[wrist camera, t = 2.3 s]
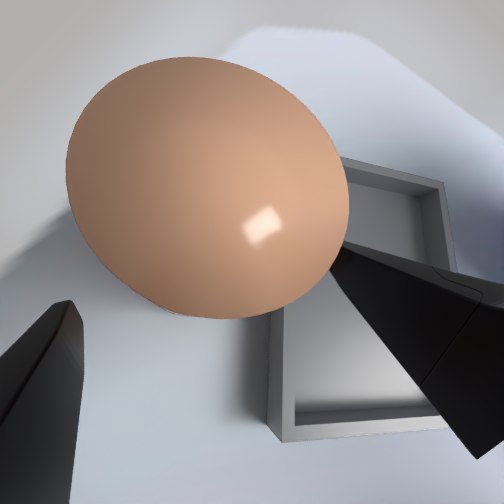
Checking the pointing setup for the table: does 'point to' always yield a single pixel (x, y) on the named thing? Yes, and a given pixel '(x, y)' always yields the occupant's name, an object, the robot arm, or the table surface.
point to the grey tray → (357, 322)
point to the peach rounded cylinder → (207, 188)
